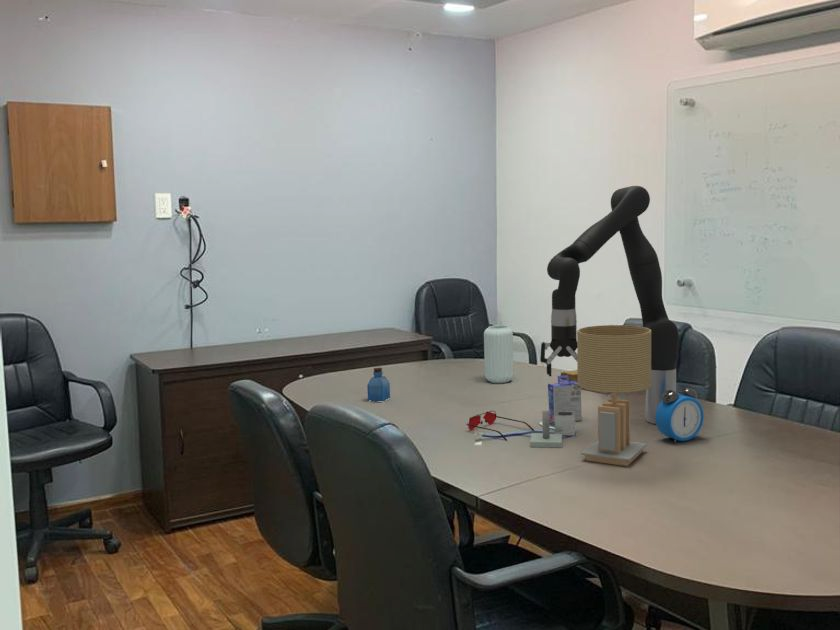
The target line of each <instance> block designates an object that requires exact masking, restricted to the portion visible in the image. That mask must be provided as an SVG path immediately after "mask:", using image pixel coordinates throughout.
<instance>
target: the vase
mask: <svg viewBox="0 0 840 630" xmlns="http://www.w3.org/2000/svg"><path fill="white" fill-rule="evenodd" d="M483 352H484V353H483V354H484V356H483V357H484V359H483V360H484V378H486V380H487V381H489V383H492V384H507V383H508V382H510V381H511V380H512V379H513V378H514V334H513V330H512V329H511V328H510V327H509V326H508V325H497V324H496V325H489V326H488V327H487V328H486V329H484V331H483Z"/></svg>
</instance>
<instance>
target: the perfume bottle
mask: <svg viewBox="0 0 840 630" xmlns="http://www.w3.org/2000/svg"><path fill="white" fill-rule="evenodd" d="M382 370H383V368H382V367H373V374H372V375H374V376H373V377H371V378H370V379H369V381H368V383H367V401H368V400H371V401H385V400H386V399H388V398H390V399H391V388H390V387H391V385H390V384H391V383H390V381H389V379H388V378H387V377H386V376H383V371H382ZM385 402H386V401H385Z"/></svg>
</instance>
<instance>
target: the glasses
mask: <svg viewBox="0 0 840 630" xmlns="http://www.w3.org/2000/svg"><path fill="white" fill-rule="evenodd" d="M493 412H494V413H493ZM482 415H484V416H482ZM481 417H482V418H483V419H484V421H483V420H481ZM497 418H499V419H503V420H509V421H513V422H518V423H523V424H525V425H527V427H528V428H529V429H530V430H531V431H533V432H536V430H535V429H534V428H533V427H532V426H531V425H530V424H528V423H527V422H525V421H522V420H518V419H512V418H508V417H503V416H498V415H497V413H496V411H495V410H490V411H485V412H483V413H479V414H476V415H473V416H470V417H469V419H468V423H465V425H466V426H468V427H467V428H468V430H469V431H470V432H472V431H473V430H474V429H476V428H477V429H478V428H479V429H483V430H487V431H491V432H496V433H498V434H499V435H500V436H501V437H502V438H503V439H504V441H505V442H507V441H508V439H507V438H506V436H504V435H503V433H502V432H501V431H499V430H496V429H492V428H488V427H487V428H486V427H484V426H483V427H482V426H480V425H483V422H484V423H486V424H488V425H489V426H490V425H493V424H494V423H495V421H496V420H497ZM478 425H479V426H478Z"/></svg>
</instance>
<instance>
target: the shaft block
mask: <svg viewBox="0 0 840 630" xmlns="http://www.w3.org/2000/svg"><path fill="white" fill-rule="evenodd" d="M541 414H542V433H541V432H540V433H538V432H537V433H531V435H530V439H529V442H530V443H529V444H530V445H529V447H530V448H559V449H560V448H563V441H562V440H563V439H562V438H563V435H562V434H555V433H550V428H551V427H550V420H549V410H542V413H541Z"/></svg>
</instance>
